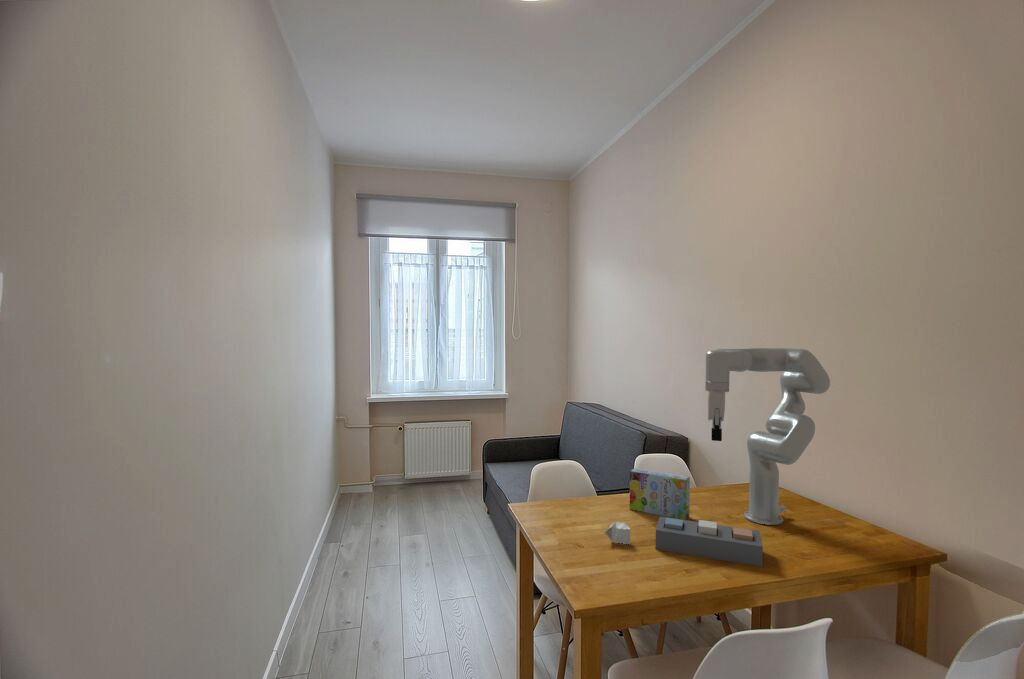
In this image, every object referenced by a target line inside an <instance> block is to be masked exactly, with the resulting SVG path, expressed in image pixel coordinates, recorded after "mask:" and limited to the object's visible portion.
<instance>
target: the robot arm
mask: <svg viewBox="0 0 1024 679" xmlns="http://www.w3.org/2000/svg"><path fill="white" fill-rule="evenodd" d="M746 371H749V372H758V373H759V372H760V373H766V372H772V373H773V372H781V375H780V378H779V383H780V390H781V399H780V400H779V403H778V404H777V405H776V407H775V408H774V409H773V411H772V412H771V414H770V415H769V417H768V418H767V420H766V422H765V428H766V430H767V431H761V430H760V431H758V430H757V431H754V432H751V434H749V436H748V438H747V441H746V448H747V454H748V459H749V484H748V485H749V486H748V487H749V494H748V509H747V510H745V511H744V512H743V515H744V517H745V519H747V520H748V521H750V522H753V523H755V524H761V525H764V524H765V526H778V525H781V524H783V523H784V518H783V516H781V513H782V512H785V511H787V507H786V506H785V505H780V506H779V502H780V501H779V499H780V497H779V496H780V495H779V493H780V491H779V490H780V488H779V487H780V485H779V484H780V471H779V466H778V465H777V463H778V464H781V465H787V466H789V465H793V464H795V463H796V462H797V461H798V460H799V459H800V458H801V456H802V454H803V453H804V452H805V450H806V449H807V447H808V446H809V444H810V443H811V442H812V439H813V438H814V437H815V432H816V423H815V421H814V420H813V419H812V417H810V416H808V415H805V414H804V413H805V410H806V404H805V400H804V399H803V397H802V393H807V394H814V395H816V394H817V395H820V394H824V393H826V392H827V391H828V390H829V388H830V386H831V379H830V376H829V374H828V373H827V371H826V369H825V368H824V367H823V365H822V364H821V363H820V361H819V360H818V358H817V357H816V356H815V354H813V353H812V352H811V351H809V350H808V349H804V348H785V347H784V348H779V347H777V348H776V347H774V348H769V347H767V348H766V347H765V348H761V347H758V348H757V347H754V348H753V347H751V348H718V349H715V350H708V351H707V352H706V354H705V390H704V391H706V392H708V396H707V420H708V421H709V422H711V420H712V425H711V426H712V427H711V441H715V442H721V441H723V436H722V435H723V433H722V431H723V428H722V422H724V421H725V420H724V419H725V412H726V410H725V409H726V393H729V392H730V375H731V374H730V372H737V373H742V372H746Z"/></svg>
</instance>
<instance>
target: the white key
mask: <svg viewBox="0 0 1024 679" xmlns="http://www.w3.org/2000/svg"><path fill="white" fill-rule="evenodd" d="M698 522H699V525H698V533H703V534H710V535H716V536H717V525H718V524H717V521H716V522H715V521H710V520H702V519H698Z"/></svg>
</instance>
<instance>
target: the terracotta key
mask: <svg viewBox="0 0 1024 679" xmlns="http://www.w3.org/2000/svg"><path fill="white" fill-rule="evenodd" d="M732 527H733V538H736V539H743V540H749V541H753V535H752V530H753V529H750V530H748V529H749V528H743V529H741V528H742V527H736V528H734V527H735V526H732Z"/></svg>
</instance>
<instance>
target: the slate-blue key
mask: <svg viewBox="0 0 1024 679" xmlns="http://www.w3.org/2000/svg"><path fill="white" fill-rule="evenodd" d="M665 528H670V529H677V530H683V520H679V519H672V518H670V517H667V518H666V521H665Z"/></svg>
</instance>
